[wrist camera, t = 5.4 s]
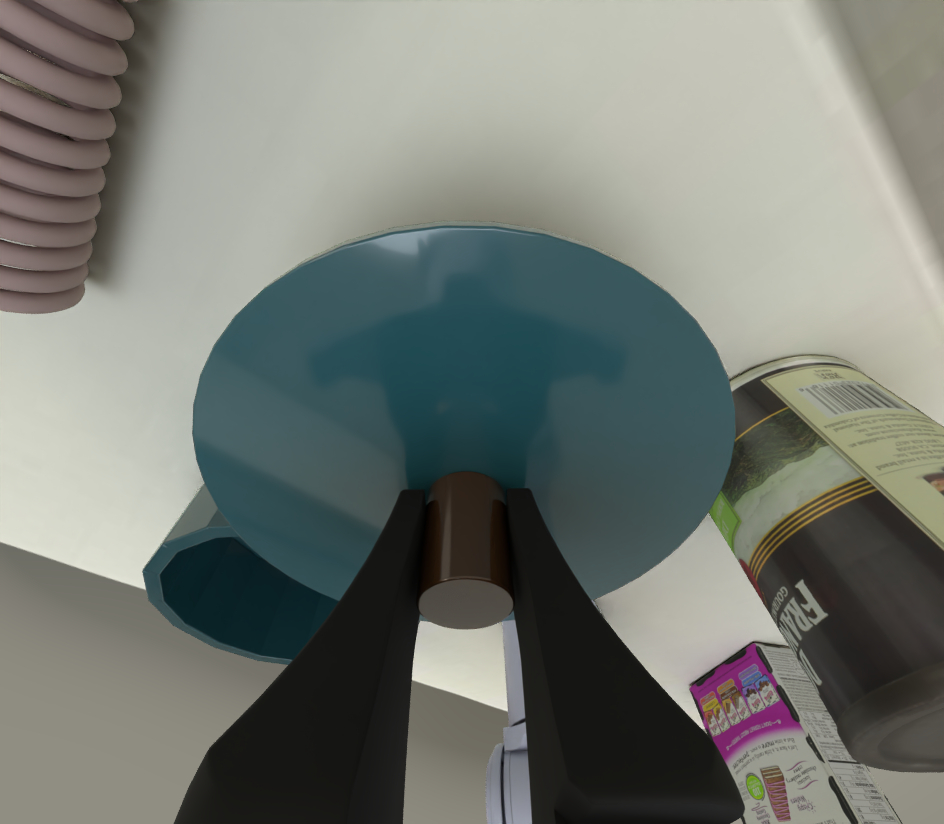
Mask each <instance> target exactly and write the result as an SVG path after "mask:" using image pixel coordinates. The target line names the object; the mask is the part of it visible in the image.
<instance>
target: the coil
mask: <svg viewBox="0 0 944 824" xmlns="http://www.w3.org/2000/svg"><path fill="white" fill-rule="evenodd" d="M122 1H124V2H128V3H132V2H136V1H138V0H122ZM134 31H135V30H134V23H133V20H132V19H131V17H130V15H129V14H128V12H127V11H126V9H125V8H124V7H123V6H122V5H121V4H120V3H118V2H117V1H116V0H0V73H1V74H3V75H6V76H9V77H12V78H14V79H17V80H20V81H22V82H24V83H26V84H29V85H31V86H33V87H35V88H37V89H40V90H42V91H45V92H46V93H48V94H50V95H52V96H54V97H56V98H58V99H60V100H61V101H63V102H65V103H66V104H68V105H70V106H71V107H73V108H70V107H66V106H63V105H60V104H57V103H55V102H53V101H51V100H49V99H47V98H45V97H42V96H40V95H38V94H36V93H34V92H31V91H29V90H27V89H24V88H22V87H19V86H17V85H14V84H11V83H9V82H7V81H5V80H4V79H2V78H0V110H2V111H0V238H4V239H7V240H11V241H15V242H20V243H24V244H29V245H35V246H37V247H32V246H25V245H20V244H15V243H11V242H7V241H4V240H0V264H4V265H8V266H13V267H18V268H24V269H31V270H24V269H18V268H12V267H8V266H3V265H0V310H1V311H6V312H14V313H26V314H43V313H52V312H58V311H61V310H65V309H68V308H70V307H72V306H75V305H76V304H77V303H79V302H80V300H81V299H82V297H83V295H84V293H85V286H84V280H85V279H86V277H87V275H88V272H89V268H88V264H87V261H88V260H89V258H90V257H91V255H92V251H93V249H92V244H91V241H90V240H91V239H92V238H93V237H94V235H95V233H96V230H97V226H96V222H95V219H94V217H95V216H96V215H97V214H98V213H99V211H100V208H101V202H100V198H99V195H98V192H100V191H101V190H102V189H103V187H104V185H105V183H106V179H105V175H104V171H103V169H102V168H101V166H104V165H106V164H107V163H108V161H109V159H110V156H111V153H110V149H109V145H108V143H107V142H106V140H105V138H109V137H110V136H112V135H113V133H114V131H115V129H116V124H115V119H114V116H113V115H112V113H111V112H110V111H109V108H113V107H115V106H118V104H119V103H120V101H121V99H122V95H121V90H120V87H119V85H118V84H117V82H116V81H115V80H114V78H113V77H112V76H116V75H120V74H123V73H124V72H125V70H126V69H127V67H128V62H127V57H126V54H125V53H124V51H123V50H122V48H121V47H120V45H119V44H118V43H117V42H116V41H115V40H119V41H124V40H127V39H130V38H131V37H132V35H133V33H134ZM114 39H115V40H114ZM21 47H22V48H21ZM23 48H24V49H23ZM25 49H26V50H25ZM27 50H28V51H30V52H33V53H35V54H37V55H39V56H41V57H43V58H45V59H47V60H49V61H51V62H53V63H55V64H56V65H55V64H53V63H51V62H49V61H47V60H44V59H42V58H40V57H38V56H36V55H34V54H32V53H30V52H28V51H27ZM57 65H58V66H57ZM3 111H4V112H3ZM51 130H52V131H51ZM53 131H55V132H58V133H61V134H65V135H68V136H69V137H71V138H72V139H74V140H75V141H71V140H68V139H66V138H65V137H63V136H61V135H59V134H57V133H55V132H53ZM68 167H69V168H68ZM70 168H73V169H74V170H72V169H70ZM10 215H11V216H10ZM21 218H22V219H21ZM36 270H42V271H36ZM2 288H3V289H2ZM6 289H8V290H6ZM12 290H14V291H12ZM19 291H21V292H19Z"/></svg>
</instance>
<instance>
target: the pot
mask: <svg viewBox="0 0 944 824" xmlns="http://www.w3.org/2000/svg"><path fill="white" fill-rule="evenodd" d="M142 572H143V577H144V582H145V587H146V591H147V596H148V599H149V601H150V602H151V603H152V604H153V605H154V606H155V607H156V608H157V609H158V610H159V611H160V612H161V614H162V615H164V617H165V618H166V619H167V620H168V621H169V622H170V623H171V624H172V625H173V626H175V627H177V628H179V629H181V630H182V631H184V632H186V633H188V634H190V635H192V636H194V637H195V638H197V639H199V640H201V641H203V642H205V643H207V644H209V645H210V646H213V647H215V648H218V649H221V650H225V651H228V652H231V653H234V654H238V655H241V656H244V657H247V658H251V659H254V660H257V661H264V662H271V663H279V664H286V665H289V664H290V663H291V662H292V660H293V659H294V658H295V657H296V656H297V655H298V653H299V652H300V651H301V650H302V649H303V647H304V646H305V645H306V644H307V643H308V641H309V640H310V639H311V637H312V636H313V635H314V634H315V632H316V631H317V630H318V629H319V627H320V626H321V625H322V623H323V622H324V621H325V620H326V618H327V617H328V616H329V614H330V613H331V612H332V610H333V609H334V607H335V606H336V605H337V603H338V602H339V601H338V600H335V599H333V598H331V597H328V596H326V595H324V594H322V593H319V592H317V591H315V590H313V589H311V588H309V587H307V586H305V585H303V584H302V583H300V582H298V581H296V580H294V579H293V578H291V577H289V576H288V575H286V574H285V573H283V572H282V571H280V570H279V569H277V568H276V567H274V566H273V565H271V564H270V563H269V562H267V561H266V560H265V559H264V558H263V557H261V556H260V555H259V554H258V553H257V552H255V551H254V550H253V549H252V548H251V547H250V546H249V545H248V544H247V543H246V542H245V541H244V540H243V539H242V538H241V537H240V536H239V535H238V534H237V533H236V532H235V531H234V530H233V529H232V527H231V526H230V524H229V523H228V522H227V520H226V519H225V518H224V516H223V515H222V514H221V512H220V511H219V509H218V508H217V506H216V504H215V503H214V501H213V499H212V497H211V495H210V493H209V491H208V490H207V488H206V486H205V483H204V484H203V485H202V486H201V488H200V489H199V491H198V492H197V493H196V495H195V496H194V498H193V499H192V501H191V502H190V503H189V505H188V506H187V508H186V509H185V510H184V512H183V513H182V515H181V516H180V517H179V519H178V520H177V522H176V523H175V525H174V526H173V527H172V529H171V530H170V532H169V533H168V534H167V536H166V537H165V539H164V540H163V541H162V543H161V544H160V546H159V547H158V549H157V550H156V551H155V553H154V554H153V556H152V557H151V558H150V560H149V561H148V563H147V564H146V565H145V567H144V568H143V571H142ZM419 623H420V620H419ZM419 623H418V624H419Z"/></svg>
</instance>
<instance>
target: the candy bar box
mask: <svg viewBox="0 0 944 824" xmlns="http://www.w3.org/2000/svg"><path fill="white" fill-rule="evenodd" d="M689 690H690V692H691V694H692V696H693V699H694V702H695V704H696V707H697V709H698V712H699V714H700V717H701V719H702V722H703V724H704V727H705V729H706V732H707V734H708V736H709V737H710V738H711V739H712V740H713V741H714V742H715V744H716V746H717V747H718V749H719V751H720V753H721V755H722V757H723V759H724V760H725V762H726V764H727V766H728V768H729V770H730V772H731V774H732V776H733V778H734V780H735V782H736V785H737V787H738V789H739V792H740V794H741V797H742V800H743V802H744V805H745V811H744V814H743V816H741V819H742V822H743V824H902V822H901V820H900V819H899V817H898V816H897V814H896V812H895V811H894V809H893V808H892V806H891V805H890V803H889V802H888V799H887V798H886V796H885V795H884V793H883V792H882V790H881V788H880V787H879V785H878V784H877V782H876V780H875V779H874V778H873V776H872V774H871V773H870V771H869V770H868V768H867V767H866V765H863V764H861V763H859V762H857V761H855V760H854V759H853V758H852V757H851V756H850V754H849V753H848V751H847V749H846V748H845V746H844V744H843V743H842V741H841V739H840V737H839V735H838V732H837V726H836V724H835V722H834V721H833V719H832V717H831V716H830V714H829V712H828V711H827V709H826V707H825V705H824V703H823V702H822V700H821V698H820V697H819V695H818V693H817V692H816V690H815V688H814V686H813V685H812V683H811V682H810V680H809V679H808V677H807V676H806V674H805V672H804V670H803V669H802V667H801V665H800V663H799V661H798V660H797V658H796V657H795V655H794V653H793V652H792V650H791V648H790V647H785V646H778V645H769V644H762V643H752V644H750V645H749V646H748V647H746V648H745V649H743V650H742V651H740V652H739V653H737V654H736V655H735V656H733V657H732V658H730V659H729V660H727V661H726V662H725V663H723V664H722V665H720V666H719V667H717V668H716V669H715V670H713V671H712V672H710V673H709V674H708V675H706V676H705V677H703V678H702V679H701V680H699V681H698V682H696V683H695V684H693V685H692V686H691V687H690V688H689Z"/></svg>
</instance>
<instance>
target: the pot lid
mask: <svg viewBox="0 0 944 824" xmlns="http://www.w3.org/2000/svg"><path fill="white" fill-rule="evenodd" d="M192 434H193V441H194V447H195V453H196V460H197V463H198V466H199V469H200V472H201V474H202V477H203V480H204V483H205V486H206V488H207V490H208V491H209V493H210V495H211V497H212V499H213V501H214V503H215V504H216V506H217V508H218V509H219V511H220V512H221V514H222V515H223V516H224V518H225V519H226V520H227V522H228V523H229V524H230V526H231V527H232V529H233V530H234V531H235V532H236V533H237V534H238V535H239V536H240V537H241V538H242V539H243V540H244V541H245V542H246V543H247V544H248V545H249V546H250V547H251V548H252V549H253V550H254V551H255V552H257V553H258V554H259V555H260V556H261V557H263V558H264V559H265V560H266V561H267V562H269V563H270V564H271V565H273V566H274V567H276V568H277V569H279V570H280V571H282V572H283V573H285V574H286V575H288V576H289V577H291V578H293V579H294V580H296V581H298V582H300V583H302V584H303V585H305V586H307V587H309V588H311V589H313V590H315V591H317V592H319V593H322V594H324V595H326V596H328V597H331V598H333V599H335V600H338V601H339V600H340V599H341V598H342V596H343V595H344V593H345V592H346V590H347V589H348V587H349V586H350V584H351V583H352V581H353V580H354V578H355V577H356V575H357V573H358V572H359V570H360V569H361V567H362V565H363V564H364V562H365V561H366V559H367V557H368V556H369V554H370V552H371V550H372V549H373V547H374V545H375V543H376V541H377V540H378V538H379V536H380V534H381V532H382V531H383V529H384V527H385V525H386V523H387V521H388V519H389V517H390V515H391V513H392V510H393V508H394V506H395V504H396V501H397V499H398V496H399V494H400V492H401V491H402V490H404V489H424V490H425V499H426V512H425V522H424V531H423V539H422V549H421V558H420V567H419V577H418V586H417V596H416V606H417V609H418V611H419V613H420V617H419V620H420V621H427V622H432V623H434V624H437V625H439V626H443V627H447V628H453V629H478V628H484V627H488V626H491V625H494V624H497V623H499V622H502V621H510V620H515V617H514V611H513V609H514V606H515V593H514V582H513V572H512V562H511V551H510V541H509V532H508V521H507V511H506V499H507V488H529V489H530V490H531V491H532V494H533V496H534V499H535V502H536V504H537V506H538V509H539V511H540V513H541V515H542V518H543V520H544V522H545V524H546V526H547V528H548V530H549V532H550V534H551V536H552V537H553V539H554V541H555V543H556V545H557V546H558V548H559V550H560V552H561V554H562V555H563V557H564V559H565V560H566V562H567V564H568V565H569V567H570V569H571V570H572V572H573V574H574V575H575V577H576V578H577V580H578V581H579V583H580V585H581V586H582V588H583V589H584V591H585V592H586V593H587V595H588V596H589V598H590V599H591V600H594V599H597V598H599V597H601V596H603V595H605V594H608V593H610V592H612V591H614V590H617V589H619V588H620V587H622V586H624V585H626V584H628V583H629V582H631V581H633V580H635V579H637V578H639V577H640V576H642V575H643V574H645V573H646V572H647V571H649V570H650V569H652V568H653V567H655V566H656V565H658V564H659V563H661V562H662V561H663V560H664V559H665V558H666V557H668V556H669V555H670V554H671V553H672V552H674V551H675V550H676V549H677V548H678V547H679V546H680V545H681V544H682V543H683V542H684V541H685V540H686V539H687V538H688V537H689V536H690V535H691V534H692V533H693V532H694V531H695V530H696V528H697V527H698V526H699V524H700V523H701V522H702V520H703V519H704V518H705V516H706V515H707V513H708V512H709V511H710V509H711V508H712V506H713V504H714V502H715V500H716V498H717V497H718V495H719V493H720V491H721V489H722V487H723V485H724V482H725V479H726V476H727V473H728V471H729V468H730V465H731V461H732V455H733V450H734V444H735V438H736V425H735V405H734V400H733V396H732V391H731V386H730V382H729V378H728V375H727V373H726V371H725V369H724V366H723V364H722V362H721V359H720V357H719V355H718V352H717V350H716V348H715V347H714V345H713V344H712V343H711V341H710V340H709V338H708V337H707V335H706V334H705V332H704V331H703V329H702V328H701V327H700V325H699V324H698V322H697V321H696V320H695V319H694V318H693V317H692V316H691V315H690V314H689V313H688V312H687V311H686V310H685V309H684V308H683V307H682V306H681V305H680V304H679V303H678V302H677V301H676V300H675V299H674V298H673V297H672V296H671V295H670V294H669V293H668V292H667V291H666V290H665V289H664V288H663V287H662V286H660V285H659V284H657V283H656V282H655V281H653V280H652V279H650V278H649V277H648V276H646V275H645V274H643V273H642V272H640V271H639V270H638V269H636V268H635V267H633V266H632V265H630V264H629V263H627V262H625V261H623V260H621V259H619V258H617V257H615V256H613V255H611V254H609V253H607V252H605V251H603V250H601V249H599V248H596V247H594V246H592V245H590V244H588V243H585V242H582V241H579V240H576V239H572V238H569V237H566V236H563V235H559V234H556V233H553V232H550V231H546V230H543V229H538V228H531V227H525V226H519V225H512V224H506V223H499V222H488V221H439V222H431V223H423V224H415V225H408V226H400V227H393V228H389V229H386V230H382V231H379V232H375V233H372V234H368V235H365V236H361V237H357V238H354V239H350V240H347V241H345V242H343V243H340V244H338V245H336V246H334V247H332V248H329V249H327V250H325V251H323V252H321V253H318V254H316V255H314V256H312V257H310V258H307V259H305V260H304V261H302V262H301V263H299V264H298V265H296V266H295V267H293V268H292V269H290V270H289V271H287V272H286V273H284V274H283V275H281V276H280V277H278V278H277V279H275V280H274V281H272V282H271V283H270V284H269V285H267V286H266V287H265V288H264V289H263V290H262V291H261V292H260V293H259V294H258V295H257V296H256V297H254V298H253V299H252V300H251V301H250V302H249V303H248V304H247V305H246V306H245V307H244V308H243V309H242V310H241V311H240V312H239V313H238V314H237V315H235V317H234V318H233V320H232V321H231V322H230V324H229V325H228V326H227V328H226V329H225V331H224V332H223V333H222V335H221V336H220V337H219V339H218V340H217V342H216V343H215V344H214V346H213V348H212V351H211V353H210V355H209V357H208V359H207V361H206V364H205V366H204V368H203V370H202V372H201V374H200V379H199V383H198V387H197V391H196V396H195V400H194V404H193V431H192Z"/></svg>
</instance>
